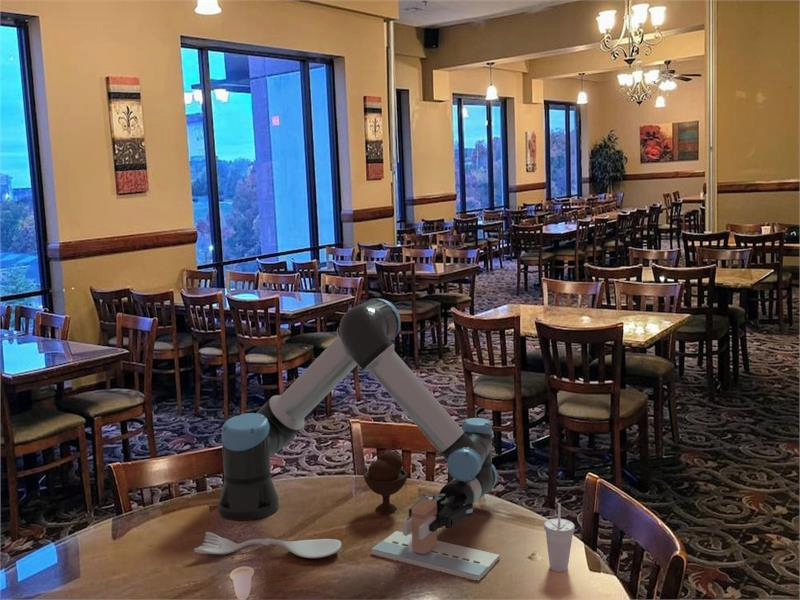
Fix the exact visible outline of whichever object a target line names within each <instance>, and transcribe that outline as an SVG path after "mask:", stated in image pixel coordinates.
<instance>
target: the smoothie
mask: <svg viewBox="0 0 800 600" xmlns="http://www.w3.org/2000/svg"><path fill="white" fill-rule="evenodd" d="M561 504H562V503H557V518H551V519H547V520H546V521H544V524H543V529H544V531H545V538H546V545H547V546H546V547H547V553H548V562H549V563H548V564H549V569H550V570H552V571H554V572H557V573H562V572H566V571H567V570H568V568H569V563H570V562H569V561H570V557H571V556H570V555H571V548H572V543H573V542H572V540H573V533H575V531H576V529H575V526H576V525H575V524H574V523H573V522H572V521H571V520H568V519H564V518H561V517H562V516H561V515H562V513H561V510H562V509H561V508H562V507H561V506H562V505H561Z"/></svg>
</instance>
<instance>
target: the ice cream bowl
mask: <svg viewBox="0 0 800 600" xmlns="http://www.w3.org/2000/svg"><path fill="white" fill-rule="evenodd" d="M403 465H404V463H403V459H402V457H401V455H400V454H398V453H397V452H394V451H391V450H389V451H385V452H383V453H382V454H381V455H380V456H379V457H378V459H376V460H375V461H374V462H373V463H371V464H370V465H368V469H367V470H366V471H365V472H364V473H363V478H364V482H365V483H366V485H367V486H368V488H369V489H370V490H371V491H372V492H374V493H375V494H377V495H380V496H381V497H382V503H380V504H378V505H377V506H376V507H375V509H374V510H375V512H376V513H377V514H380V515H390V513H391V514H394V513H396V512H397V511H398V507H397V506H396V505H395V504H393V503H391V501H390V497H391V496H392V495H395V494H396V493H397V492H399V491H400V490H401V489H402V488H403V486H404V485H405V484H406V482H407V480H408V476H409V473H408V472H407V470H405V468H403ZM396 510H397V511H396ZM395 511H396V512H395ZM393 512H394V513H393Z"/></svg>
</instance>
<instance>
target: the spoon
mask: <svg viewBox="0 0 800 600" xmlns="http://www.w3.org/2000/svg"><path fill="white" fill-rule="evenodd" d="M204 538H205V539H203V541H204V542H203V543H202V545H199V546H198V547H195V548H194V549H193V551H194V552H195V553H198V554H204V555H205V554H206V555H207V554H210V555H228V554H232V553H234V552H237V551H238V550H241V549H243V548H245V547H248V546H250V545H262V546H265V547H268V546H270V545H277V546H280V547H283V548H284V549H286V550H288V551H289V552H290V553H292V554H294V555H296V556H298V557H300V558H304V559H305V558H306V559H322V558H325V557H329V556H332V555H334V554H336V553H338V552H339V551H340V550H341V548H342V541H341V540H339V539H333V538H321V539H320V538H317V539H304V540H303V539H302V540H301V539H300V540H294V541H293V540H292V541H288V540H287V541H286V540H282V539H281V540H280V539H272V538H271V537H265V538H254V539H253V538H252V539H248V540H245V541H243V542H239V543H236V542H234V541H233V540H231V539H228V538H226V537H225V538H224V537H221V536H219V535H217V534H215V533H214V532H210V531H206V532H205V536H204Z"/></svg>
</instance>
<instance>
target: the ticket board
mask: <svg viewBox="0 0 800 600" xmlns="http://www.w3.org/2000/svg"><path fill="white" fill-rule="evenodd" d="M371 555H374V556H377V557H382V558H385V559H389V560H394V561H397V560H398V561H399V562H402V563H405V562H406V564H410V565H414V566H417V565H418V567H421V568H425V569H430V570H433V571H438V572H440V571H441V573H444V574H445V573H446V574H449V575H453V576H457V577H462V578H464V577H465V578H464V579H469V580H472V581H476V580H477V582H480V581H481V580H482V579H483V578H484V577H485V576H486V574H487V573H488V572H489V571H490V570H491V569H492V568H493V567H494V566H495V565H496V564H497V563H496V562H497V561H498V560H499V561H500V559H501V558H500V557H501V555H500V554H496V553H494V552H488V551H485V550H480V549H475V548H472V547H467V546H463V545H460V544H454V543H450V542H446V541H441V540H437V544H436V545H435V546H434V547H432V548H431V549H430V550H429V551H428V552H427V553H425V554H421V553H417V552H413V551H412V533H410V534H408V535H407V536H404V535H403V532H402V531H398V530H395V531H394V532H393V533H391V534H390V535H389V536H387V537H386V538H385V539H384V540H381V541H380V542H378V543H376V545H375V546H373V547H372V548H371ZM398 561H397V562H398ZM499 561H498V562H499ZM495 563H496V564H495ZM481 578H482V579H481ZM480 579H481V580H480ZM479 580H480V581H479Z"/></svg>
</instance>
